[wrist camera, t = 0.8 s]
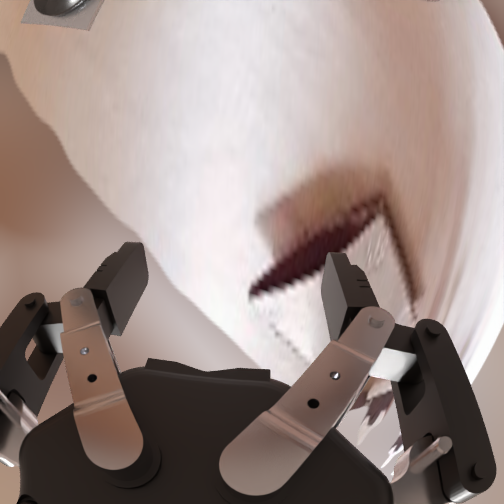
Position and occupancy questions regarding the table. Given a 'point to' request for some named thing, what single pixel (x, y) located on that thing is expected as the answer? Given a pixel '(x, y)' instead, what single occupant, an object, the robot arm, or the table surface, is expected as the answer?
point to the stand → (62, 13)
